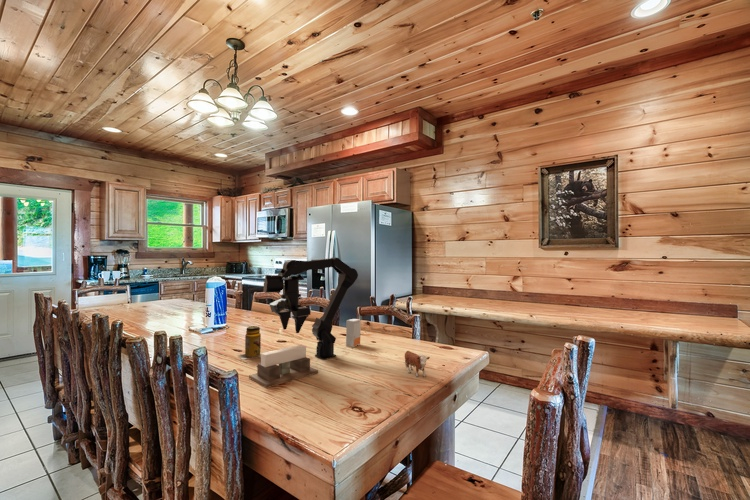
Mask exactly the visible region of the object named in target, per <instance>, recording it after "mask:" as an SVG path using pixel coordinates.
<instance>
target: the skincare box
mask: <svg viewBox="0 0 750 500" xmlns="http://www.w3.org/2000/svg"><path fill="white" fill-rule="evenodd" d="M361 322H362V320H361V319H359V318H352V319H351V318H350V319H347V320H346V324H345V325H346V328H345V329H346V332H345V336H346V337H345V346H346V347H350V348H355V347H357V345H358V346H360V345H361V327H362V326H361V324H362V323H361Z"/></svg>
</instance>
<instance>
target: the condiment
mask: <svg viewBox="0 0 750 500" xmlns="http://www.w3.org/2000/svg"><path fill="white" fill-rule="evenodd" d="M245 330H246V332H245V339H244V340H245V341H244V342H245V343H244V345H245V346H244V351H245V353H244V354H238V355H237V356H238V357H239V359H240V360H241V361H242V360H243V361H244V360H250V359H259V358H261V343H262V342H261V339H262V337H261V335H262V334H261V333H260V331H261V327H260V326H257V325H256V326H255V325H252V326H248V327H246V329H245Z"/></svg>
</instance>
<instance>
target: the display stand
mask: <svg viewBox="0 0 750 500" xmlns="http://www.w3.org/2000/svg"><path fill="white" fill-rule="evenodd" d="M318 373H319V370H318V369H316V368H314V367H311V358H309V357H307V356H306V357H305V358H301V359H297V360H293V361H289V362H285V363H280V364H276V365H272V366H268V367H264V366H262V365H261V362H258V363H257V373H252V374H249V375H248V379H250V380H252V381H254V382H255V383H256V384H258V385H260V386H262V387H264V388H265V389H266V388H267V389H268V388H271V387H274V386H276V385H277V386H278V385H280V384H284V383H287V382H291V381H294V380H299V379H301V378H305V377H309V376H312V375H314V374H318Z"/></svg>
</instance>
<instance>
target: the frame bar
mask: <svg viewBox="0 0 750 500" xmlns="http://www.w3.org/2000/svg"><path fill="white" fill-rule="evenodd" d="M260 354H261V357H260V363H261V365H262V366H264V367H268V366H272V365H279V364H280V363H285V362H289V361H293V360H297V359H301V358H305V357H307V346H306V345H304V344H299V345H294V346H289V347H288V346H287V347H284V348H279V349H276V350H270V351H265V352H260Z"/></svg>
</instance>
